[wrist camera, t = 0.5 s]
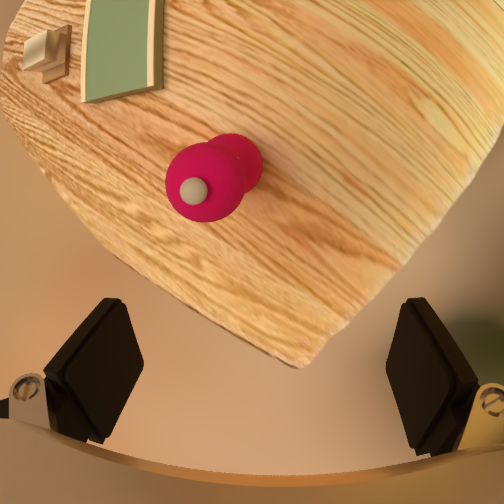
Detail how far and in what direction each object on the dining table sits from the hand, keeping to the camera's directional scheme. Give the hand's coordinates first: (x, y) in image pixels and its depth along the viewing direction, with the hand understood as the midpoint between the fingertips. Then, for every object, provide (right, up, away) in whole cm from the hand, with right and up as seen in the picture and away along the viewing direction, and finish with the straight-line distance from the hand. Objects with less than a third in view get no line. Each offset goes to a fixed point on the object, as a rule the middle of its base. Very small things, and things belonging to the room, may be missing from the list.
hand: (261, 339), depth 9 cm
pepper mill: (-2, +14, +27) cm, 31 cm away
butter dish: (-30, +34, +21) cm, 50 cm away
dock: (-17, +32, +21) cm, 42 cm away
